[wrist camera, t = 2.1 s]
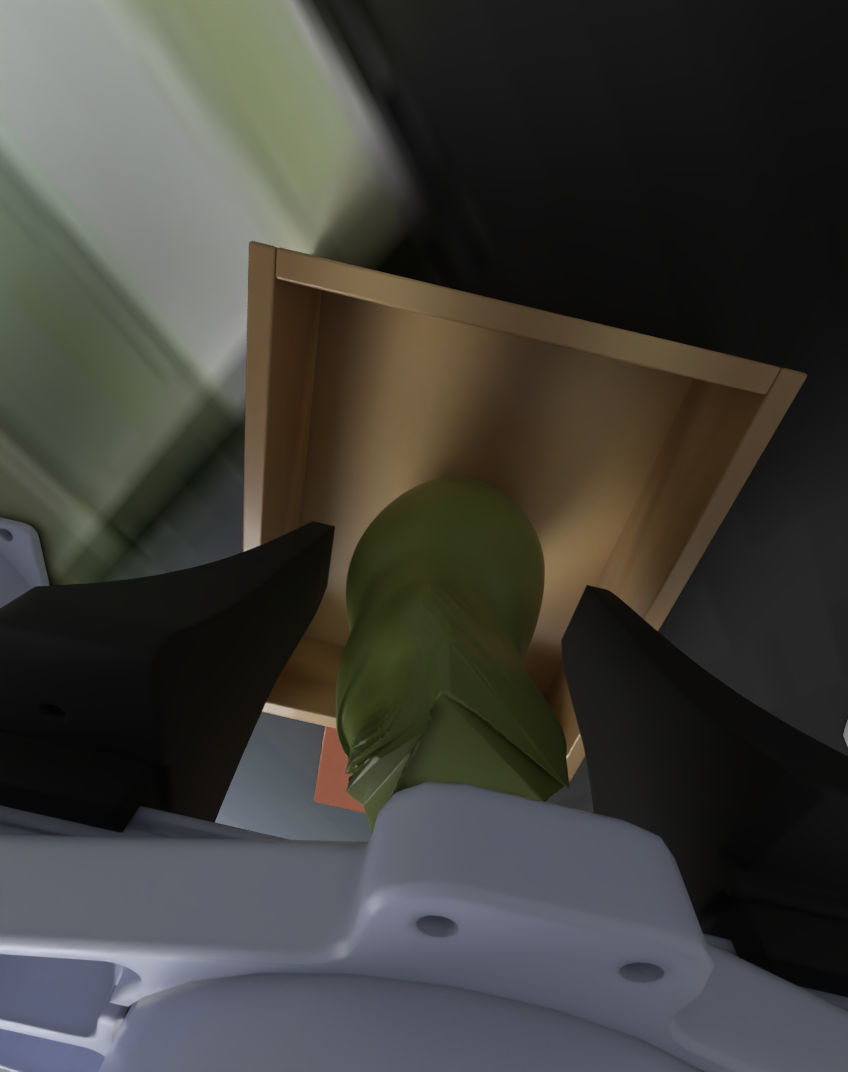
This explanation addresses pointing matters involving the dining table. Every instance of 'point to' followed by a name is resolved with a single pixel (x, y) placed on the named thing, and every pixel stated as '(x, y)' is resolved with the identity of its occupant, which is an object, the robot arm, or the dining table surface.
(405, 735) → the pear
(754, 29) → the dining table surface
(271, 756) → the dining table surface
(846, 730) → the bottle
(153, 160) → the dining table surface
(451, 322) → the wooden shallow box
